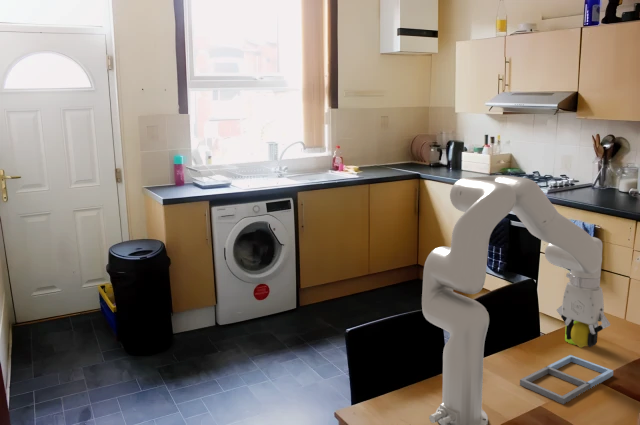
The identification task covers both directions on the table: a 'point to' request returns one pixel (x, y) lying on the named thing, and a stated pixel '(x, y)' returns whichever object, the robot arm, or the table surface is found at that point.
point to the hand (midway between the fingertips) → (581, 341)
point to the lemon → (580, 334)
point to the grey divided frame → (566, 378)
